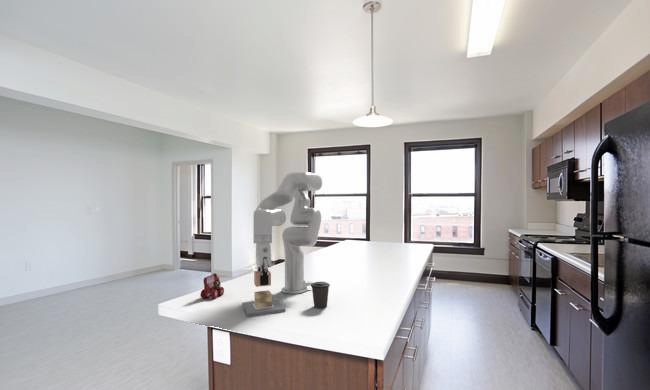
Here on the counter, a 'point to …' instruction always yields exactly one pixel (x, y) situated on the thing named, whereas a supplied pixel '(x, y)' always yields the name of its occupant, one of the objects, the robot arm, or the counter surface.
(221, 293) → the toy fire truck
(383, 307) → the counter surface
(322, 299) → the coffee cup
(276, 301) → the baseplate
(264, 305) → the oak brick
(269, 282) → the terracotta brick
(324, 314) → the counter surface
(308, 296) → the counter surface
